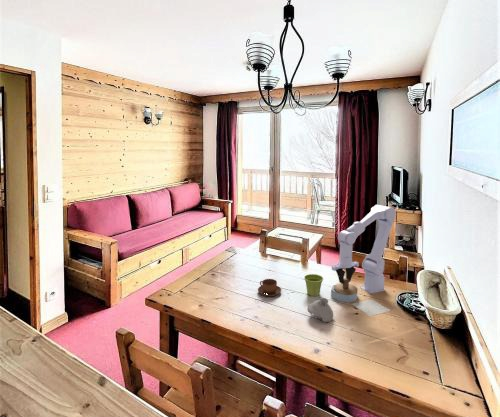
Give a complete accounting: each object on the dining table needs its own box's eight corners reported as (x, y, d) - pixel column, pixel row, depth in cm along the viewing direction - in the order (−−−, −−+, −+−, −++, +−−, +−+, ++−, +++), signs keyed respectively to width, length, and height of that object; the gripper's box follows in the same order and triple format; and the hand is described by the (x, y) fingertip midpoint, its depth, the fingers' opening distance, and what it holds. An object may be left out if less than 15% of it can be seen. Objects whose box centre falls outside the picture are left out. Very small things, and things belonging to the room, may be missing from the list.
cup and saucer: (254, 296, 160) (254, 284, 159) (262, 286, 171) (261, 275, 170) (277, 299, 156) (277, 288, 155) (283, 289, 167) (283, 278, 166)
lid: (351, 284, 162) (351, 274, 161) (361, 294, 152) (362, 283, 151) (330, 286, 161) (330, 275, 160) (339, 295, 150) (339, 284, 149)
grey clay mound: (338, 323, 139) (344, 304, 135) (317, 331, 133) (323, 312, 129) (319, 305, 148) (325, 287, 144) (300, 312, 142) (304, 293, 138)
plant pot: (323, 298, 156) (323, 282, 155) (303, 297, 158) (303, 280, 157) (322, 290, 165) (323, 274, 164) (304, 289, 167) (304, 273, 166)
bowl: (346, 289, 165) (346, 282, 165) (362, 299, 154) (362, 292, 154) (326, 294, 161) (327, 286, 160) (341, 304, 150) (342, 296, 149)
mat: (371, 300, 154) (371, 299, 154) (390, 311, 143) (391, 310, 143) (351, 304, 150) (351, 304, 150) (369, 317, 139) (369, 316, 139)
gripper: (352, 251, 160) (351, 276, 163) (328, 255, 155) (327, 281, 157) (362, 255, 154) (360, 281, 156) (337, 259, 148) (336, 287, 151)
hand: (344, 282), depth 156 cm, fingers open, 4 cm apart
